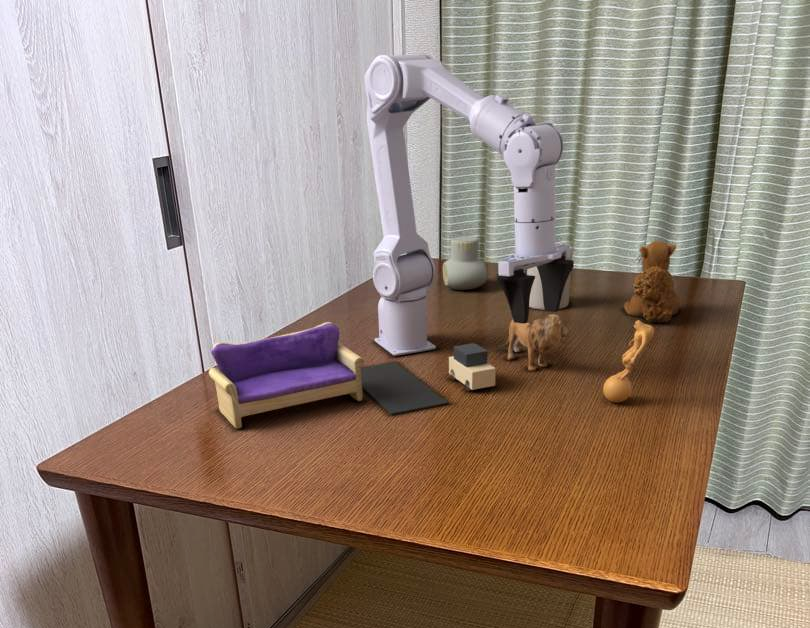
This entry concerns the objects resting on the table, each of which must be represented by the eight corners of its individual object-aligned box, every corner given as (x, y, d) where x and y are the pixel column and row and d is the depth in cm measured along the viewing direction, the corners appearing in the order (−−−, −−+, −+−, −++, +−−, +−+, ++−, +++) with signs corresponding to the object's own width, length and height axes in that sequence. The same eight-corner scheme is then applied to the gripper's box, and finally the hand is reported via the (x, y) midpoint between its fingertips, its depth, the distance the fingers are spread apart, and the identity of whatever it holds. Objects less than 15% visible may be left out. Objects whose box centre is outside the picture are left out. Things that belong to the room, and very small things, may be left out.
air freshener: (441, 282, 179) (441, 234, 174) (478, 279, 180) (479, 232, 175) (449, 294, 170) (449, 245, 165) (488, 292, 171) (489, 243, 166)
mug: (569, 299, 165) (573, 242, 159) (567, 310, 158) (572, 252, 152) (510, 297, 167) (512, 242, 161) (506, 309, 160) (508, 251, 154)
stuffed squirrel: (675, 306, 158) (686, 236, 151) (684, 328, 146) (695, 253, 139) (623, 306, 159) (631, 236, 152) (627, 327, 148) (635, 252, 141)
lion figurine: (570, 370, 130) (574, 314, 125) (545, 377, 127) (548, 321, 122) (510, 347, 140) (512, 295, 135) (486, 353, 138) (487, 300, 133)
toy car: (448, 377, 129) (448, 344, 126) (471, 373, 130) (471, 340, 127) (471, 393, 122) (472, 359, 119) (495, 389, 124) (496, 355, 121)
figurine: (602, 390, 122) (610, 310, 116) (643, 392, 121) (654, 312, 114) (601, 411, 115) (610, 328, 109) (645, 414, 114) (656, 330, 107)
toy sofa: (231, 431, 113) (220, 361, 108) (214, 411, 120) (203, 343, 114) (367, 401, 121) (363, 334, 116) (343, 383, 127) (339, 319, 122)
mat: (344, 372, 132) (344, 370, 132) (395, 363, 135) (395, 361, 135) (391, 415, 116) (391, 413, 116) (447, 404, 119) (447, 402, 119)
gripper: (525, 229, 108) (527, 331, 114) (588, 212, 116) (586, 308, 123) (485, 227, 112) (489, 325, 119) (548, 211, 121) (548, 304, 127)
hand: (536, 316), depth 121 cm, fingers open, 7 cm apart
